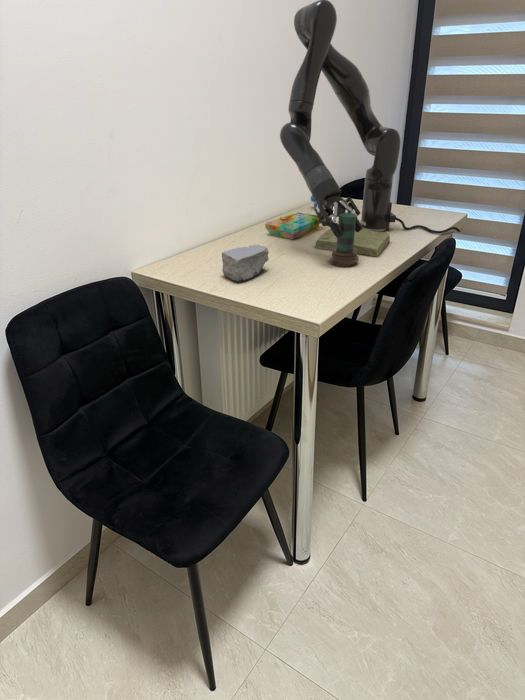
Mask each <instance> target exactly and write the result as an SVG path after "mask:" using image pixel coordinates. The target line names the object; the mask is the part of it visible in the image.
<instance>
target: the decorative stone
mask: <svg viewBox="0 0 525 700" xmlns="http://www.w3.org/2000/svg"><path fill="white" fill-rule="evenodd" d="M221 260H222V269H221V270H222V273H223V276H224V277H226V278H228V279H229V280H231V281H233V282H236V283H242V282H247V281H249V280H251V279H253V278H255V277H257V276H259V275H260V274H261V272H262V270H263V268H264V265H266V263H267V262H268V261H269V250H268V247H267V246H265V245H260V244H250V245H248V246H240V247H239V246H238V247H236V248H232V249H231V248H230V249H226V250H224V251H222V252H221Z"/></svg>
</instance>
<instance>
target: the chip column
mask: <svg viewBox="0 0 525 700" xmlns="http://www.w3.org/2000/svg"><path fill="white" fill-rule="evenodd" d="M337 221H338V222H337V223H338V225H339V227H340V229H341V230H342V232H343V235H342V236H341V237H340V238H337V247H336V250H338V251H340V252H351V251H353V245H354V234H355V224H356V215H355V214H352V213H346V212H345V213H341V214H339V217H338V220H337Z"/></svg>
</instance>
